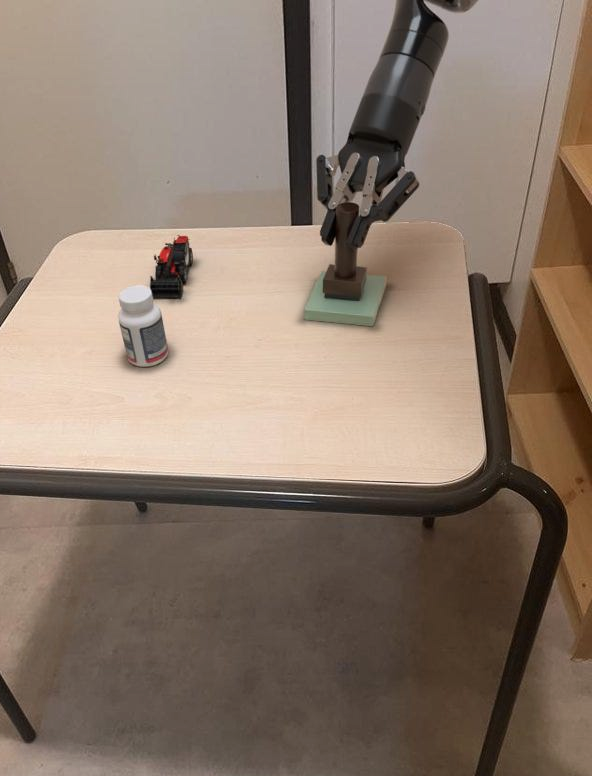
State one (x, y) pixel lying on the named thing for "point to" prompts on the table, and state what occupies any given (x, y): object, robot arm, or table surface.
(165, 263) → the loader
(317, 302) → the tile
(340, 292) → the brown peg on base
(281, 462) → the table surface
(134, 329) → the pill bottle
